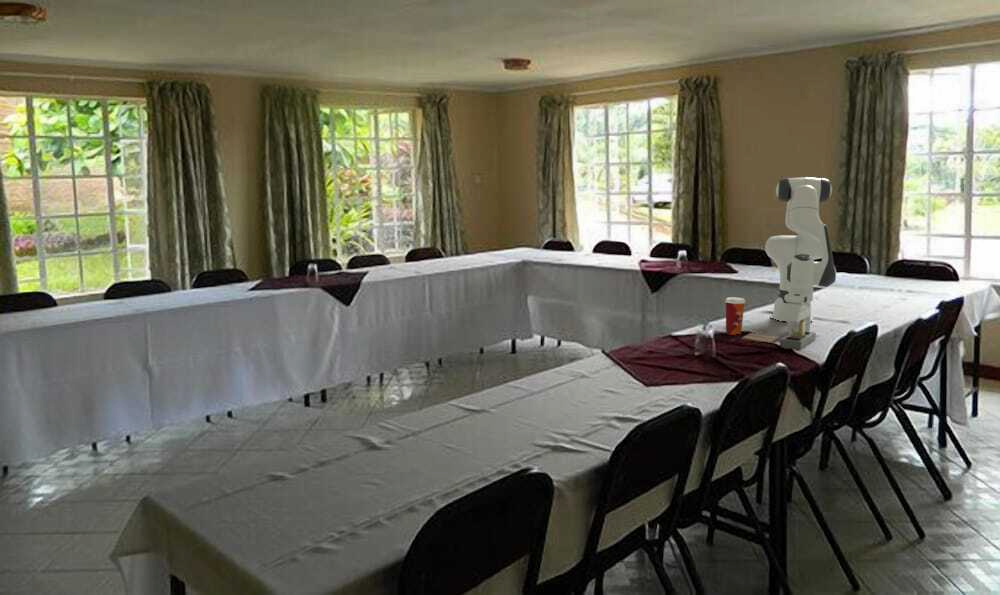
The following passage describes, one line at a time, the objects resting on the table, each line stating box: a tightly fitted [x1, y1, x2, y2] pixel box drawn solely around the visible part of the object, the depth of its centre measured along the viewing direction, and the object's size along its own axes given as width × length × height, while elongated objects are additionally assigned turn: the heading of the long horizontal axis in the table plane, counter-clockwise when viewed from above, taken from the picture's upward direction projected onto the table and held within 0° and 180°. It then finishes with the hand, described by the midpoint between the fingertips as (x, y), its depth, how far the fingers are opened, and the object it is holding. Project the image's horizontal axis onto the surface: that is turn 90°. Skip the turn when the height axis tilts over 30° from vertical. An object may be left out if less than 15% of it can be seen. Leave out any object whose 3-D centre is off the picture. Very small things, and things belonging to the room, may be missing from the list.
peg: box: [792, 320, 806, 338], centre depth 308 cm, size 4×4×9 cm
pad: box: [740, 332, 781, 344], centre depth 315 cm, size 12×12×1 cm
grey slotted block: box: [778, 331, 817, 351], centre depth 309 cm, size 22×8×3 cm, turn 144°
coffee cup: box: [724, 296, 746, 336], centre depth 326 cm, size 8×8×15 cm
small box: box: [786, 312, 812, 334], centre depth 326 cm, size 8×6×10 cm
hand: (798, 330), depth 308 cm, fingers closed on peg, 4 cm apart
